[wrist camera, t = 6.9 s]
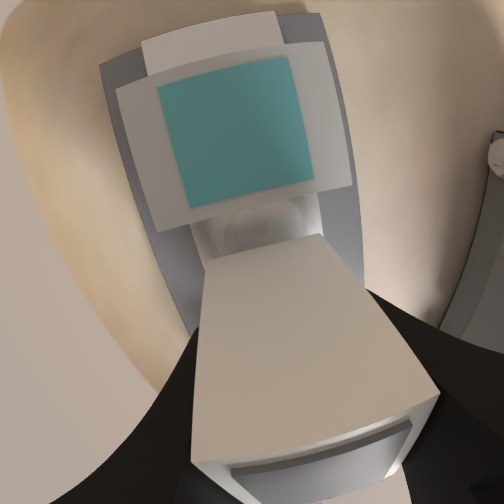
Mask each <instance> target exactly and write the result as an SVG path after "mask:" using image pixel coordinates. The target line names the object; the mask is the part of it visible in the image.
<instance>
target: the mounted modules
mask: <svg viewBox="0 0 504 504" xmlns="http://www.w3.org/2000/svg"><path fill="white" fill-rule="evenodd" d="M115 90H116V94H117V99H118V103H119V107H120V111H121V115H122V119H123V123H124V127H125V131H126V135H127V138H128V142H129V146H130V149H131V153H132V156H133V160H134V163H135V166H136V170H137V173H138V176H139V179H140V183H141V186H142V189H143V192H144V195H145V198H146V201H147V204H148V207H149V210H150V213H151V216H152V219H153V222H154V225H155V227H156V230H157V233H158V232H162V231H165V230H169V229H172V228H176V227H179V226H183V225H187V224H190V223H194V222H198V221H202V220H205V219H209V218H213V217H217V216H221V215H224V214H228V213H232V212H236V211H240V210H244V209H248V208H252V207H257V206H261V205H265V204H269V203H273V202H278V201H282V200H286V199H291V198H295V197H299V196H304V195H308V194H313V193H318V192H322V191H327V190H332V189H336V188H341V187H346V186H351V185H352V178H351V170H350V163H349V157H348V150H347V144H346V138H345V133H344V127H343V122H342V117H341V112H340V107H339V102H338V97H337V93H336V88H335V84H334V80H333V76H332V72H331V68H330V64H329V60H328V56H327V53H326V49H325V46H324V42H323V41H320V42H304V43H292V44H283V45H275V46H267V47H261V48H254V49H248V50H243V51H238V52H233V53H228V54H223V55H219V56H214V57H210V58H206V59H202V60H199V61H195V62H191V63H188V64H184V65H181V66H178V67H174V68H171V69H168V70H165V71H162V72H159V73H156V74H153V75H150V76H148V77H145V78H142V79H140V80H137V81H134V82H132V83H129V84H127V85H125V86H122V87H120V88H117V89H115Z"/></svg>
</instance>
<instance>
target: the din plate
mask: <svg viewBox="0 0 504 504" xmlns="http://www.w3.org/2000/svg"><path fill="white" fill-rule="evenodd" d="M276 17H277V20H278V24H279V27H280V30H281V34H282V37H283V41H284V44H292V43H304V42H320V41H323V42H324V46H325V49H326V53H327V56H328V60H329V64H330V68H331V72H332V76H333V80H334V84H335V88H336V93H337V97H338V102H339V107H340V112H341V117H342V122H343V127H344V133H345V138H346V144H347V150H348V157H349V163H350V170H351V178H352V185H351V186H346V187H341V188H336V189H332V190H327V191H322V192H318V193H317V195H318V202H319V208H320V215H321V222H322V229H323V236H324V238H325V239H326V241H327V242H328V243H329V244H330V245H331V247H332V248H333V249H334V250H335V251H336V252H337V254H338V255H339V256H340V257H341V259H342V260H343V261H344V262H345V263H346V265H347V266H348V267H349V268H350V270H351V271H352V272H353V273H354V274H355V276H356V277H357V278H358V279H359V281H360V282H361V283H362V285H363V286H364V265H363V244H362V229H361V216H360V205H359V196H358V187H357V178H356V171H355V163H354V157H353V150H352V144H351V138H350V132H349V126H348V121H347V116H346V111H345V106H344V101H343V96H342V92H341V87H340V83H339V79H338V75H337V71H336V67H335V63H334V59H333V55H332V52H331V48H330V45H329V41H328V38H327V34H326V31H325V28H324V25H323V22H322V19H321V16H320V13H308V14H290V15H278V16H276ZM99 66H100V71H101V76H102V81H103V86H104V91H105V95H106V100H107V104H108V109H109V113H110V117H111V121H112V125H113V129H114V133H115V136H116V140H117V144H118V147H119V151H120V154H121V158H122V161H123V164H124V168H125V171H126V174H127V178H128V181H129V184H130V187H131V190H132V193H133V196H134V199H135V202H136V205H137V208H138V211H139V214H140V217H141V220H142V222H143V225H144V228H145V231H146V233H147V236H148V239H149V241H150V244H151V247H152V249H153V252H154V254H155V257H156V259H157V262H158V264H159V267H160V269H161V272H162V274H163V277H164V279H165V281H166V284H167V286H168V289H169V291H170V293H171V296H172V298H173V300H174V302H175V305H176V307H177V309H178V311H179V314H180V316H181V318H182V320H183V322H184V324H185V327H186V329H187V331H188V333H189V335H190V337H191V336H192V334H193V333H194V331H195V329H196V328H197V327H199V326H200V316H201V306H202V296H203V287H204V278H205V270H204V267H203V264H202V261H201V258H200V255H199V252H198V249H197V246H196V243H195V240H194V237H193V234H192V231H191V228H190V225H189V224H187V225H183V226H179V227H176V228H172V229H169V230H165V231H162V232H158V233H157V230H156V227H155V225H154V222H153V219H152V216H151V213H150V210H149V207H148V204H147V201H146V198H145V195H144V192H143V189H142V186H141V183H140V179H139V176H138V173H137V170H136V166H135V163H134V160H133V156H132V153H131V149H130V146H129V142H128V138H127V135H126V131H125V127H124V123H123V119H122V115H121V111H120V107H119V103H118V99H117V94H116V90H115V89H117V88H120V87H122V86H125V85H127V84H129V83H132V82H134V81H137V80H140V79H142V78H145V77H148V73H147V69H146V65H145V60H144V56H143V51H142V47H140V48H138V49H135V50H133V51H130V52H128V53H125V54H123V55H121V56H118V57H116V58H114V59H111V60H109V61H107V62H105V63H103V64H101V65H99Z"/></svg>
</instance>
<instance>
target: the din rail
mask: <svg viewBox="0 0 504 504" xmlns="http://www.w3.org/2000/svg"><path fill="white" fill-rule="evenodd" d="M283 44H284V41H283V37H282V34H281V30H280V27H279V24H278V20H277V17H276V14H275V11H266V12H257V13H250V14H244V15H237V16H232V17H226V18H221V19H217V20H212V21H208V22H203V23H199V24H195V25H191V26H188V27H184V28H181V29H177V30H174V31H171V32H167V33H164V34H161V35H158V36H155V37H152V38H150V39H147V40H144V41H141V46H142V51H143V56H144V60H145V65H146V69H147V73H148V76H150V75H153V74H156V73H159V72H162V71H165V70H168V69H171V68H174V67H178V66H181V65H184V64H188V63H191V62H195V61H199V60H202V59H206V58H210V57H214V56H219V55H223V54H228V53H233V52H238V51H243V50H248V49H254V48H261V47H267V46H275V45H283ZM189 225H190V228H191V231H192V234H193V237H194V240H195V243H196V246H197V249H198V252H199V255H200V258H201V261H202V264H203V267H204V270H206V262H207V260H211V259H215V258H219V257H223V256H227V255H231V254H235V253H239V252H243V251H248V250H252V249H256V248H260V247H264V246H268V245H272V244H276V243H280V242H284V241H288V240H292V239H296V238H300V237H304V236H308V235H312V234H316V233H320V234H321V235H322V236H323V229H322V222H321V215H320V208H319V202H318V195H317V193H313V194H308V195H304V196H299V197H295V198H291V199H286V200H282V201H278V202H273V203H269V204H265V205H261V206H257V207H252V208H248V209H244V210H240V211H236V212H232V213H228V214H224V215H221V216H217V217H213V218H209V219H205V220H202V221H198V222H194V223H190V224H189ZM323 237H324V236H323Z"/></svg>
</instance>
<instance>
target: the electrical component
mask: <svg viewBox="0 0 504 504" xmlns="http://www.w3.org/2000/svg"><path fill="white" fill-rule="evenodd" d="M488 164H489V166H490V169H489V176H488V181H487V187H486V192H485V197H484V202H483V206H482V210H481V214H480V218H479V222H478V226H477V230H476V233H475V237H474V240H473V244H472V247H471V250H470V253H469V256H468V259H467V262H466V265H465V268H464V271H463V273H462V276H461V279H460V281H459V284H458V287H457V289H456V292H455V294H454V297H453V299H452V301H451V304H450V306H449V308H448V310H447V313H446V315H445V317H444V319H443V321H442V323H441V326H440V328H439V330H441V331H443V332H445V333H447V334H449V335H452V336H454V337H456V338H459V339H461V340H464V341H466V342H469V343H471V344H474V345H477V346H480V347H483V348H486V349H489V350H492V351H496V352H499V353H503V354H504V132H502V131H496V132H494V137H493V143H492V144H490V147H489V152H488Z"/></svg>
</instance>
